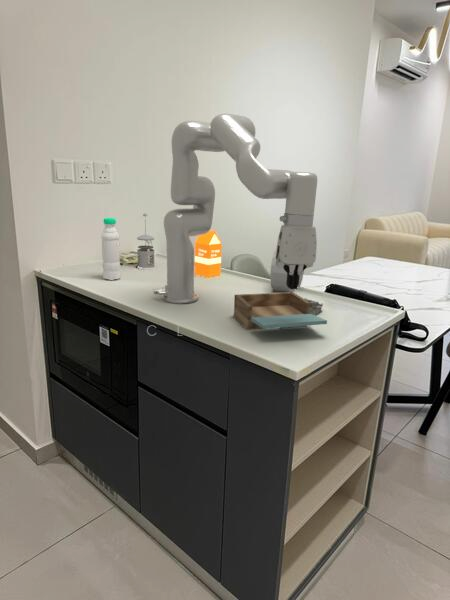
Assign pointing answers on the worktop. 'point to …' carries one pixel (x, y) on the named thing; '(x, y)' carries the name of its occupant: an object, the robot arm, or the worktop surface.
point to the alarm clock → (280, 277)
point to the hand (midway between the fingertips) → (292, 287)
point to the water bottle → (110, 250)
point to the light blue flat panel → (288, 321)
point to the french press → (145, 251)
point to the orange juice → (208, 255)
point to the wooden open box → (268, 306)
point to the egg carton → (315, 307)
